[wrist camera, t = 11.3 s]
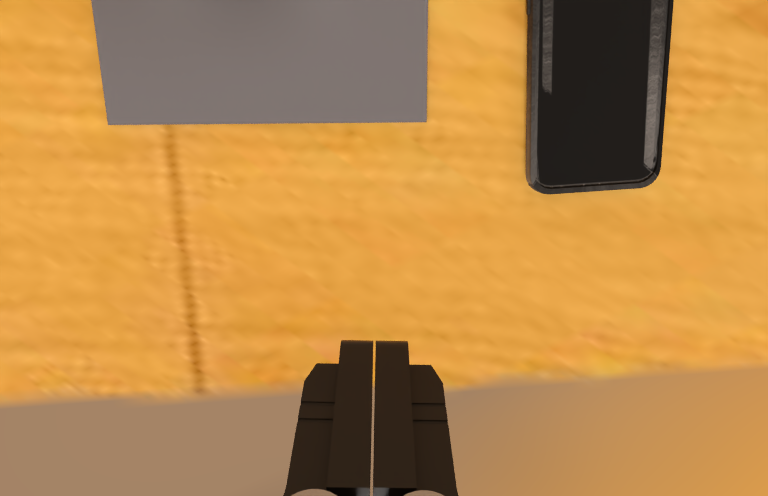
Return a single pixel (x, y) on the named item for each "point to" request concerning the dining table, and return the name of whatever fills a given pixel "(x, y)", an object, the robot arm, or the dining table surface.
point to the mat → (262, 61)
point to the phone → (596, 93)
